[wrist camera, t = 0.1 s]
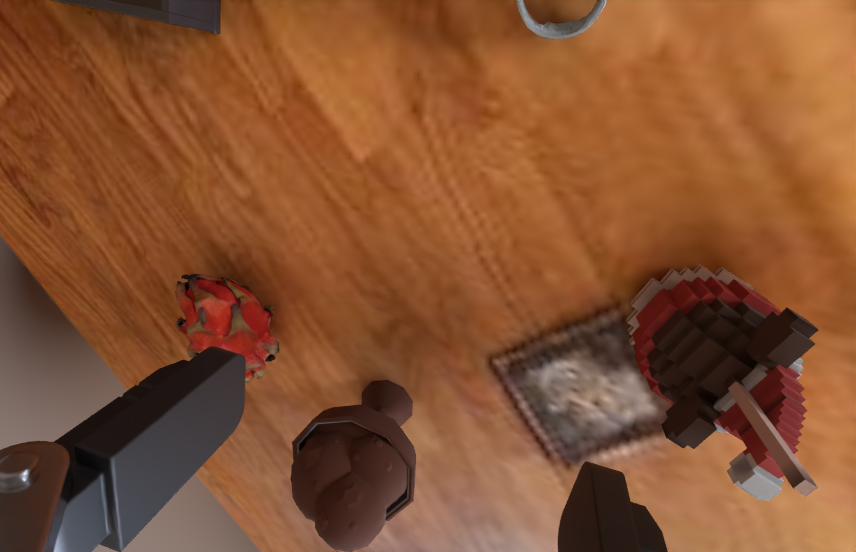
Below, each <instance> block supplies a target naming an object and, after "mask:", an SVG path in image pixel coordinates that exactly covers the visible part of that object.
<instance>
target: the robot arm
mask: <svg viewBox="0 0 856 552" xmlns="http://www.w3.org/2000/svg"><path fill="white" fill-rule="evenodd" d="M245 374H246V360H245V357H244V356H243V355H242V354H239V353H236V352H232V351H229V350H226V349H223V348H219V347H216V346H210V347H208V348H206V349H205V350H204V351H202V352H201V353H200V354H198V355H197V356H195V357H194V358H193V359H191V360H190V361H186V360H181V361H179V362H176V363H173V364H171V365H168V366H165V367H163V368H160V369H158V370H157V371H155V372H154V373H152V374H151V375H150V376H148V377H147V378H145V379H144V380H142V381H141V382H140V383H139V385H138V386H137V385H135V386H134V387H132V388H131V389H129V390H128V391H127V392H125V393H124V394H123V396H122V397H118V398H116V399H115V400H114V401H112V402H111V403H109V404H108V405H106V406H105V407H103V408H102V409H101V410H99V411H98V412H96V413H95V414H94V415H92V416H90V417H89V418H88V419H87V420H85V421H83V422H82V423H80V424H79V425H78V426H76V427H75V428H73V429H72V430H70V431H69V432H67V433H66V434H65V435H63V436H62V437H60V438H59V439H57V440H56V441H54V442H48V441H33V442H26V443H20V444H17V445H13V446H10V447H7V448H4V449H2V450H0V552H92V551H93V550H94V549H95V548H96V547H97V546H98V545H99V544H100V545H103V546H105V547H108V548H110V549H113V550H116V551H118V552H121V551H122V550H123V549H124V548H125V547H126V546H127V545H128V544H129V543H130V542H131V541H132V540H133V539H134V537H135V536H136V535H137V534H138V533H139V532H140V531H141V530H142V529H143V528H144V527H145V526H146V525H147V523H148V522H149V521H150V520H151V519H152V518H153V517H154V516H155V515H156V514H157V513H158V512H159V511H160V510H161V509H162V508H163V507H164V505H165V504H166V503H167V502H168V501H169V500H170V499H171V498H172V497H173V496H174V495H175V493H177V492H178V490H179V489H180V488H181V487H182V486H183V485H184V484H185V483H186V482H187V481H188V480H189V479H190V478H191V477H192V476H193V475H194V473H195V472H196V471H197V470H198V469H199V468H200V467H201V466H202V465H203V464H204V463H205V462H206V461H207V460H208V459H209V457H210V456H211V455H212V454H213V453H214V452H215V451H216V450H217V449H218V448H219V447H220V446H221V445H222V444H223V443H224V441H225V440H226V439H227V438H228V437H229V436H230V435H231V434H232V433H233V432H234V430H235V429H236V427H237V426H238V424H239V422H240V420H241V417H242V414H243V411H244V400H245ZM558 552H668V551H667V548H666V544H665V541H664V537H663V534H662V531H661V529H660V528H659V526H658V525H657V523H656V522H655V520H654V519H653V517H652V516H651V514H650V513H649V511H648V510H647V508H646V507H645V506H642V505H639V504H636V503H633V502H630V498H629V493H628V489H627V484H626V480H625V476H624V474H623V473H622V472H620V471H616V470H613V469H610V468H607V467H603V466H600V465H597V464H594V463H590V462H584V464H583V465H582V467H581V469H580V471H579V474H578V476H577V479H576V481H575V484H574V486H573V488H572V491H571V493H570V496H569V498H568V500H567V503H566V505H565V508H564V510H563V513H562V516H561V520H560V525H559V532H558Z"/></svg>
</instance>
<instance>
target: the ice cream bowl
mask: <svg viewBox="0 0 856 552" xmlns="http://www.w3.org/2000/svg"><path fill="white" fill-rule="evenodd" d="M411 416H412V400H411V398H410V397H409V396H408V394H407V393H406V391H405V390H404V388H403V387H401V386H398V385H396V384H394V383H392V382H390V381H388V380H386V381H377V382H371V383H370V384H369V385H368V387H367V388H366V389H365V390H364V391H363V392H362V405H353V406H343V407H333V408H330V409H327V410H325V411H323V412H321V413H320V414H319V415H318V416H317V417H315V418H314V419H313V420H312V421H311V422H310V423H309V424H308V426H307V427H306V428H305V429H304V430H303V431H302V432H301V433H300V434H299V435H298V436H297V437H296V439H295V440H294V441H293V442H292V445H293V459H294V462H293V464H292V473H291V478H290V479H291V482H292V494H293V499H294V501H295V503H296V505H297V506H298V507H299V509H300V510H301V511H302V513H303V514H304V516H305V517H306V518H308V519H310V520H312V521H314V522H315V528H316V530H317V532H318V534H319V536H320V537H321V538H322V539H323V540H324V541H325V542H326V543H327V544H328V545H329V546H330V547H332V548H334V549H336V550H341V551H347V552H351V551H354V550H358V549H361V548H364V547H366V546H368V545H369V544H370V543H371V542H372V540H373V539H374V538H375V537H376V536H377V535H378V534H379V532H380V531H381V529H382V528H383V526H384V524H385V521H388V520H390V519H391V518H393V517H394V516H395V515H396V514H398V513H399V512H400V511H401V510H403V509H404V508H405V507H406V506H408V505H409V504H410V503H411V502H413V498H414V487H415V467H416V454H415V450H414V446H413V445H412V443H411V442H410V440H409V439H408V437H407V436H406V435H405V433H404V432H403V430H402V429H401V428H400V426H401V425H402V424H403V423H404V422H405V421H406V420H408V419H409V418H410V417H411Z"/></svg>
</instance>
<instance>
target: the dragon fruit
mask: <svg viewBox="0 0 856 552" xmlns="http://www.w3.org/2000/svg"><path fill="white" fill-rule="evenodd" d="M181 278H184V279H189V280H188V282H185V283H183V284H182V283H181V282H179V281H178V284H177V287H176V291H175V294H176V298H177V301H178V302H179V304H180V306H181V309H182V310H183V311H184V313H185V316H186V319H185V320H184V319H183V318H182V317H181V318H180V319H178V321H177V322H176V324H175V325H176V328H177V329H178V330H179V331H181V332H182V333H184V334H186V335H187V337H188V338H189V340H190V341H191V344H190V345H189V347H188V350H187V351H188V355H189V357H191V358H194V357H195V356H197V355H198V354H200V353H201V352H202V351H204V350H205V349H206V348H208V347H210V346H216V347H219V348H223V349H226V350H229V351H232V352H236V353H239V354H242V355H243V356H244V357H245V360H246V374H245V383H247V382H249V381H251V380H252V379H253V377H254V373H257V375H258V379H259V377H262V375H263V373H264V372H265V369H266V365H265V363H264V360H263V357H265V356H268V355H269V356H268V358H267V359H266V360H265V362H266V361H272V360H275V353H279V342H278V341H277V340H275V339H274V338H273V337H271V336H270V324H271V318H272V315H273V311H274V308H273V307H272V306H271V305H270V306H265V309H264V310H263V309H262V307H261V305H260V303H259V301H258V300H257V299H256V298H255V297H254V294H253V292H251V291H250V290H249V288H248V287H247V286H245V285H242V284H241V283H239V282H236V281H234V280H233V279H227V280H228V281H227V280H226V279H225V278H223V277H222V278H215V277H209V276H206V275H202V274H193V275H190V276H188V275H183V276H182V277H181ZM193 280H194V281H193ZM189 288H190V290H189ZM181 325H184V326H183V327H182V326H181ZM260 379H261V378H260Z"/></svg>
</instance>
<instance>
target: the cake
mask: <svg viewBox="0 0 856 552" xmlns="http://www.w3.org/2000/svg"><path fill="white" fill-rule="evenodd" d="M753 289H754V288H753V287H752V286H751V285H749V284H748V283H746V282H745V281H743V280H741V279H740V278H738V277H737V276H735V275H733V274H732V273H730V272H729V271H727V270H725V269H724V268H722V267H721V266H720V267H719V268H718V269H717V270H716V272H715V273H713V272H711V271H709V270H708V269H706V268H705V267H703V266H701V265H700V264H698V265H697V266H696V268H695V269H694V270H693V271H692V270H691V269H689V268H687V267H686V266H685V267H684V268H683V269H682V270H681V271H680V272H679V273H678V272H677V271H675V270H673V269H672V268H671V269H670V271H669V272H668V273H667V274H666V275H665V276H664V277H663V278H662V279H661V281H660V282H659V281H658V280H656V279H655V278H653V277H652V278H651V279H650V280H649V281H648V283H647V284H646V285H645V286H644V287H643V288H642V289H641V290H640V292H639V293H638V294H637V295H636V296H635V297H634V298H633V300H632V301H631V302H630V305H631V306H632V307H633V308H635V310H634V311H633V312H632V313H631V314H630V315H629V316H628V318H627V319H626V321H627V323H628V324H630V325H631V326H630V327H629V328H628V333H629V334H631V335H632V337H631V338H630V339H629V341H630V344H632V345H633V346H634V348H635V351H636V355H635V358H636V360H637V363H638V366H639V368H640V371H641V374H642V375H644V376H645V377H646V378H647V381H648V384H649V386H650V389H651V391H653V392H654V393H656V394H658V395H659V396H661V397H662V398H664V399H665V400H667V401H669V402H670V403H672V404H673V406H672V407H671V408H670V409H669V410H668V411H666V414H667V417H668V419H667V420H666V421H665V422H664V423H663V424H661V425H662V428H663V430H664V433H665V436H666V438H668V439H669V440H671V441H673V442H674V443H676V444H677V445H679V446H680V447H682V448H685V447H686V446H687V445H688V446H690V447H691V448H693V449H695V448H696V447H697V446H698V445H699V444H700V443H702V442H703V441H704V440H705V439H706V438H707V437H708V436H710V435H711V434H712V433H713V432H714V431H715V430H716V431H717V432H719V433H721V432H722V431H723V432H724V433H727V432H728V433H730V434H732V435H734V436H735V437H737V438H738V439H740V440H743V442H744V444H745V445H746V447H747V449H746V450H745V451H743V452H742V453H741V454H740V455H738V456H737V457H736V458H735V459H733V460H732V461H731V462H730V465H731V468H730V469H729V470H727V472H728V474H729V476H730V478H731V479H732V481H733V483H734V484H735V485H736V486H738V487H739V488H741V489H742V490H744V491H746V492H747V493H749V494H750V495H752V496H754V497H755V498H757V499H758V500H761V499H764V500H765V501H767V502H768V501H769V500H771V499H772V498H773V497H775V496H776V495H777V494H779V493H780V492H781V491H782V489H781V488H780V485H781V484H783V483H784V481H783V479H782V478H781V477H782V476H784V475H785V477H786V478H787V480H788V481H789V483H790V484H791V486H792V487H793V489H795V490H796V491H798V492H800V493H801V494H803V495H804V496H807V495H808V494H810V493H811V492H812V491H814V490H815V489H817V488H818V487H817V486H816V484H815V483H814V481H813V480H812V479H811V477H810V476H809V475H808V473H807V472H806V470H805V469H804V468H803V466H802V465H801V463H800V462H799V461H798V459H797V458H796V457H795V455H794V454H795V453H796V452H797V451H798V450H797V449H796V447H795V446H796V445H798V444H799V443H800V442H799V441H798V439H797V438H798V437H799V436H801V435H802V434H801V433H800V431H799V430H800V429H801V428H802V427H804V426H803V425H802V424H801V422H802V421H803V420H804V419H806V418H805V417H804V416H803V414H804V413H805V412H807V410H806V409H805V407H804V406H803V405H802V404H801V403H802V402H804V401H805V400H806V399H805V398H804V397H803V396H802V395H801V393H800V392H801V391H803V390H804V388H803V386H802V385H801V384H800V383H799V382H798V381H797V379H798V378H800V377H801V376H802V374H801V373H800V371H801V370H803V369H804V368H803V367H802V366H801V365H800V364H801V363H803V362H804V361H803V360H802V359H801V358H800V357H801V356H802V355H803V354H804V353H806V352H807V351H808V350H809V349H810V348H811V347H812V346H814V345H815V343H814V342H813V341H811V340H810V339H809V338H810V337H811V336H812V335H813V334H815V333H816V332H817V331H818V329H817V328H816V327H815V326H813V325H812V324H811V323H810V322H809V321H807V320H806V319H804V318H803V317H801V316H800V315H798V314H797V313H795V312H793V311H792V310H790V309H789V308H786V309H785V310H784V311H783V312H781V311H780V310H779V309H777V308H776V307H775V306H774V305H773V304H772V303H770V302H769V301H768V300H767V299H766V298H764V297H762V296H761V295H759V294H758V293H756V292H754V291H753Z"/></svg>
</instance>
